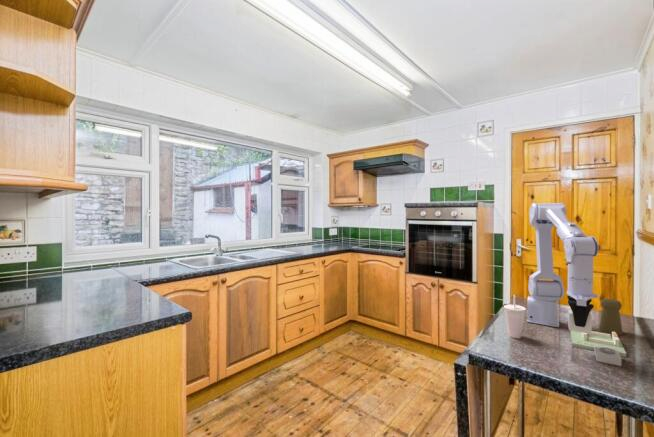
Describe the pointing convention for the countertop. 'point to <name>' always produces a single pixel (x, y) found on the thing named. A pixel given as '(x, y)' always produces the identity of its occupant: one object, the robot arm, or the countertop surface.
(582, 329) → the white block
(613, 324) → the dark olive bottle
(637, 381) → the countertop surface
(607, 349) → the fan housing
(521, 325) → the smoothie
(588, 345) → the board
